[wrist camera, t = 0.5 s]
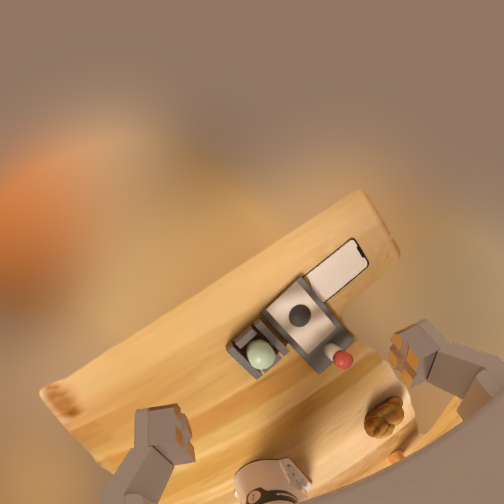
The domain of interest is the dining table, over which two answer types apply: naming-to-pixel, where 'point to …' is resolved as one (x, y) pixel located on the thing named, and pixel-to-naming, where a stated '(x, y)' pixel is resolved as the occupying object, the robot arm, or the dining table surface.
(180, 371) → the dining table surface
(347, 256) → the smartphone
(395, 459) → the beer glass
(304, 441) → the dining table surface
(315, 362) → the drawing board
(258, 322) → the button base
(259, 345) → the button
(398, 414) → the bread roll
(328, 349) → the marker
